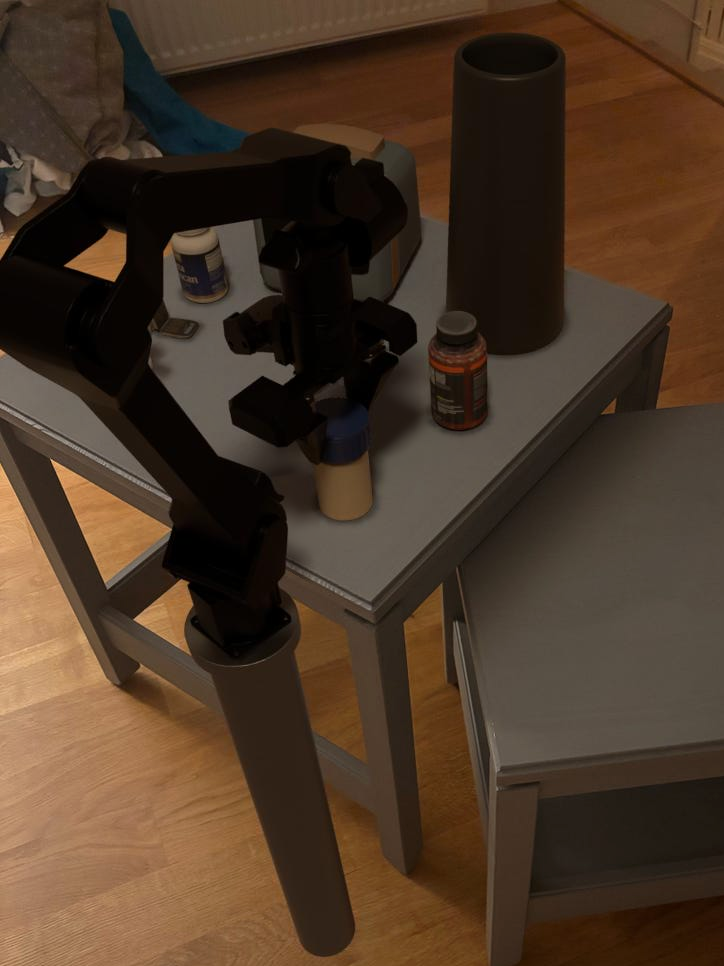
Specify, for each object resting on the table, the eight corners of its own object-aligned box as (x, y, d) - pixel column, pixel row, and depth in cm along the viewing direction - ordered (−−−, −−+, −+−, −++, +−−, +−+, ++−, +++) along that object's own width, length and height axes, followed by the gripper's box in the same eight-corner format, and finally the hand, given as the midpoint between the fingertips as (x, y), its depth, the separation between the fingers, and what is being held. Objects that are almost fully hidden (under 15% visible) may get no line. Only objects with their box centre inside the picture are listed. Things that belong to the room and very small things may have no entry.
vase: (543, 279, 126) (556, 18, 104) (579, 344, 118) (602, 75, 95) (433, 296, 124) (423, 32, 102) (462, 363, 116) (457, 92, 93)
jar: (346, 529, 99) (336, 451, 92) (308, 504, 101) (295, 426, 94) (383, 500, 102) (377, 422, 94) (345, 477, 104) (336, 399, 97)
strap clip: (121, 329, 120) (111, 296, 117) (133, 314, 122) (123, 281, 118) (189, 340, 118) (181, 307, 115) (200, 325, 120) (192, 292, 117)
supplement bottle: (490, 398, 112) (490, 305, 103) (484, 434, 108) (485, 341, 99) (434, 395, 112) (430, 302, 103) (427, 431, 108) (422, 338, 100)
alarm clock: (257, 293, 124) (232, 162, 112) (304, 223, 134) (286, 96, 122) (389, 312, 122) (378, 180, 109) (426, 239, 132) (420, 111, 119)
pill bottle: (174, 297, 124) (154, 219, 116) (201, 274, 127) (184, 197, 119) (210, 309, 122) (193, 231, 115) (238, 286, 125) (222, 209, 118)
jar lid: (291, 447, 95) (287, 422, 93) (334, 413, 98) (331, 388, 96) (343, 473, 93) (340, 448, 91) (384, 437, 96) (383, 412, 94)
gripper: (316, 215, 92) (334, 364, 104) (162, 315, 82) (201, 466, 94) (417, 255, 88) (423, 405, 100) (268, 365, 78) (294, 516, 90)
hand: (336, 444), depth 96 cm, fingers closed on jar lid, 6 cm apart
